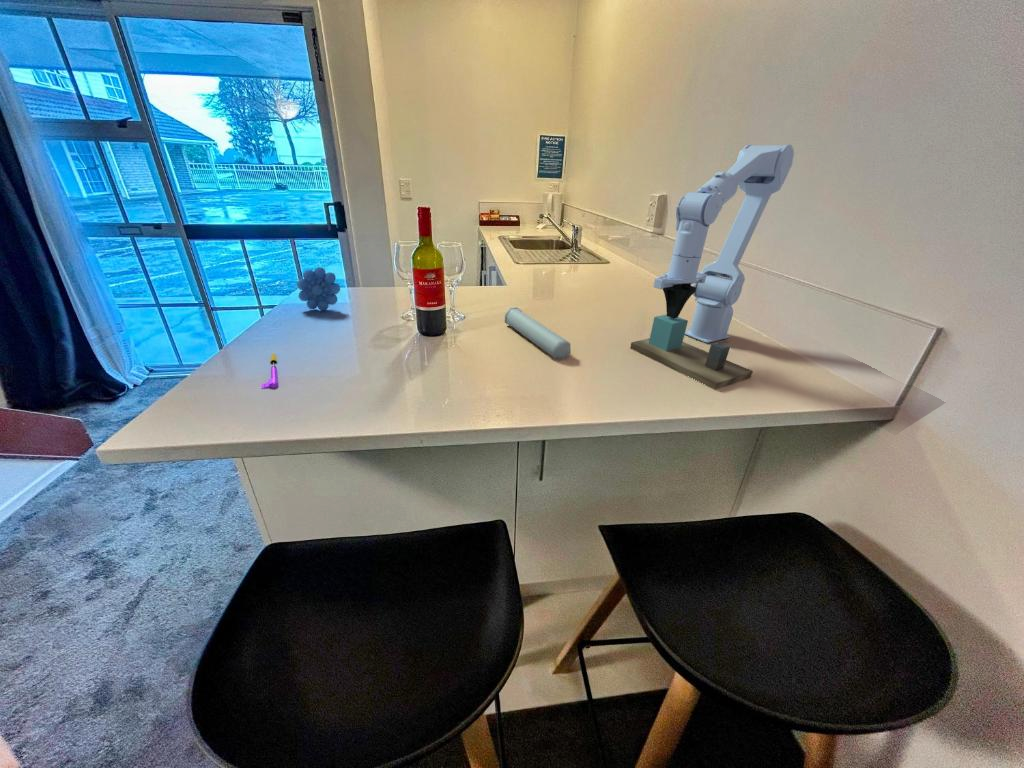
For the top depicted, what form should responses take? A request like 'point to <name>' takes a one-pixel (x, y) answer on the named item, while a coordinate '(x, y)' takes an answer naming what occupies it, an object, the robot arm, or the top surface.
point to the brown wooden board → (693, 364)
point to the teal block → (667, 332)
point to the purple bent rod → (272, 375)
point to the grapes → (318, 288)
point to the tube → (538, 333)
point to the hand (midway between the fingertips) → (672, 316)
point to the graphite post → (717, 356)
